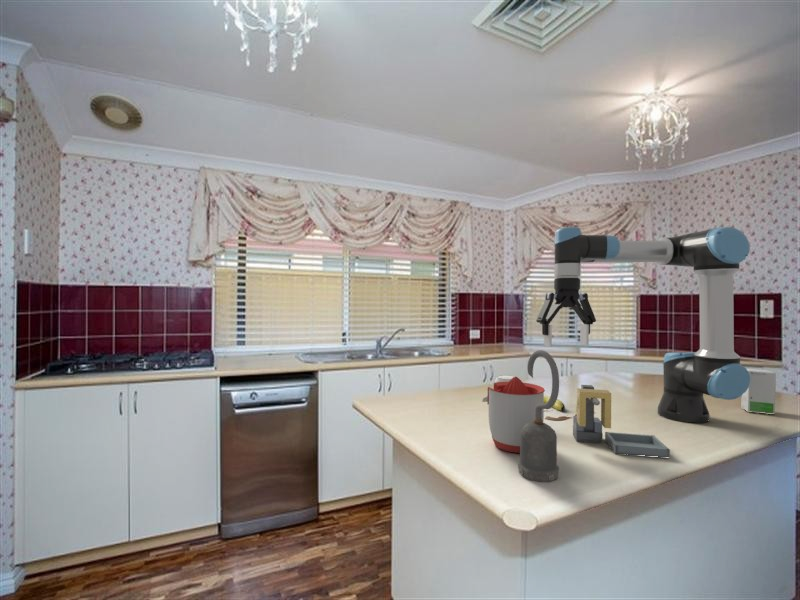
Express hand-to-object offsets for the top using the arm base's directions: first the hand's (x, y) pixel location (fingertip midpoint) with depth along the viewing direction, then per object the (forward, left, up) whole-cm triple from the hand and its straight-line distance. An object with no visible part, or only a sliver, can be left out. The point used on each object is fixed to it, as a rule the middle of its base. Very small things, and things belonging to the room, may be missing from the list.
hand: (566, 345), depth 125 cm
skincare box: (-73, -43, -28) cm, 89 cm away
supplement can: (+18, -9, -28) cm, 34 cm away
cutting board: (+3, -32, -28) cm, 42 cm away
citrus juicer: (+17, +15, -28) cm, 36 cm away
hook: (+11, +33, -28) cm, 45 cm away
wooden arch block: (-5, +12, -21) cm, 25 cm away
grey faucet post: (-5, +9, -27) cm, 29 cm away
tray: (-17, +9, -28) cm, 34 cm away
